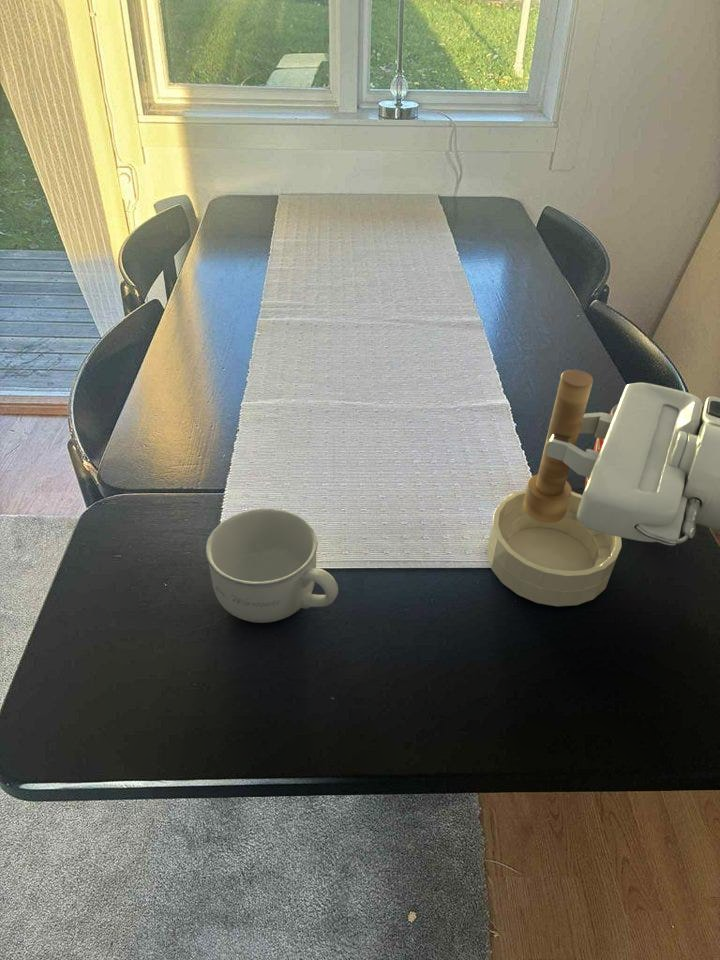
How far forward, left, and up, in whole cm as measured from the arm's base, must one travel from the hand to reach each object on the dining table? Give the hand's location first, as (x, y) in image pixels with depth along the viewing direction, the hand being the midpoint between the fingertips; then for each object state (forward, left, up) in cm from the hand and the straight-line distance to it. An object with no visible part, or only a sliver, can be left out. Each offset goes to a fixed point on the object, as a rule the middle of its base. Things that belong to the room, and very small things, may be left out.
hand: (553, 431), depth 67 cm
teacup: (+19, +20, -17) cm, 33 cm away
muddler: (-1, 0, -10) cm, 10 cm away
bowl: (-3, 0, -17) cm, 17 cm away
